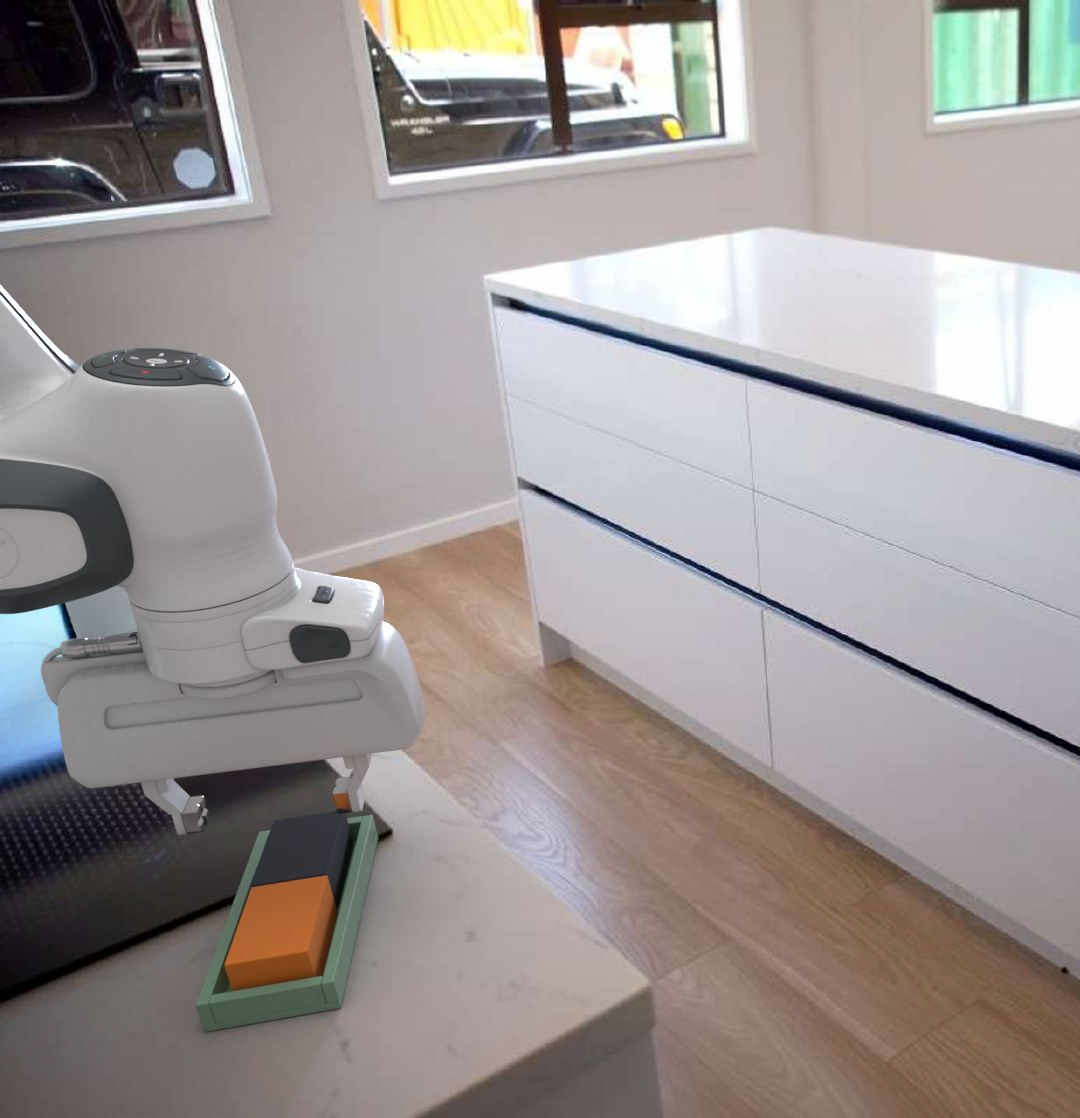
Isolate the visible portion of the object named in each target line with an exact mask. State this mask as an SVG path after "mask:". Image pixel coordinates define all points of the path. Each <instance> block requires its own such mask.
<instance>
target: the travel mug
mask: <svg viewBox="0 0 1080 1118" xmlns="http://www.w3.org/2000/svg"><path fill="white" fill-rule="evenodd" d="M64 604H65V606H66V611H67V613H68V616H69V619H70V621H71V625H72V628H73V631H74V633H75V636H76V638H88V639H92V638H99V637H106V636H109V635H114V634H122V633H131V632H137V628H136V625H135V621H134V618H133V614H132V611H131V607H130V604H129V600H128V597H127V593H126V591H125V590H124V589H123V588H122V587H119V586H114V587H112V588H110V589H108V590H105V591H103V592H100V593H97V594H94V595H91V596H88V597H84V598H81V599H78V600H74V601H70V602H67V603H64Z"/></svg>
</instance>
